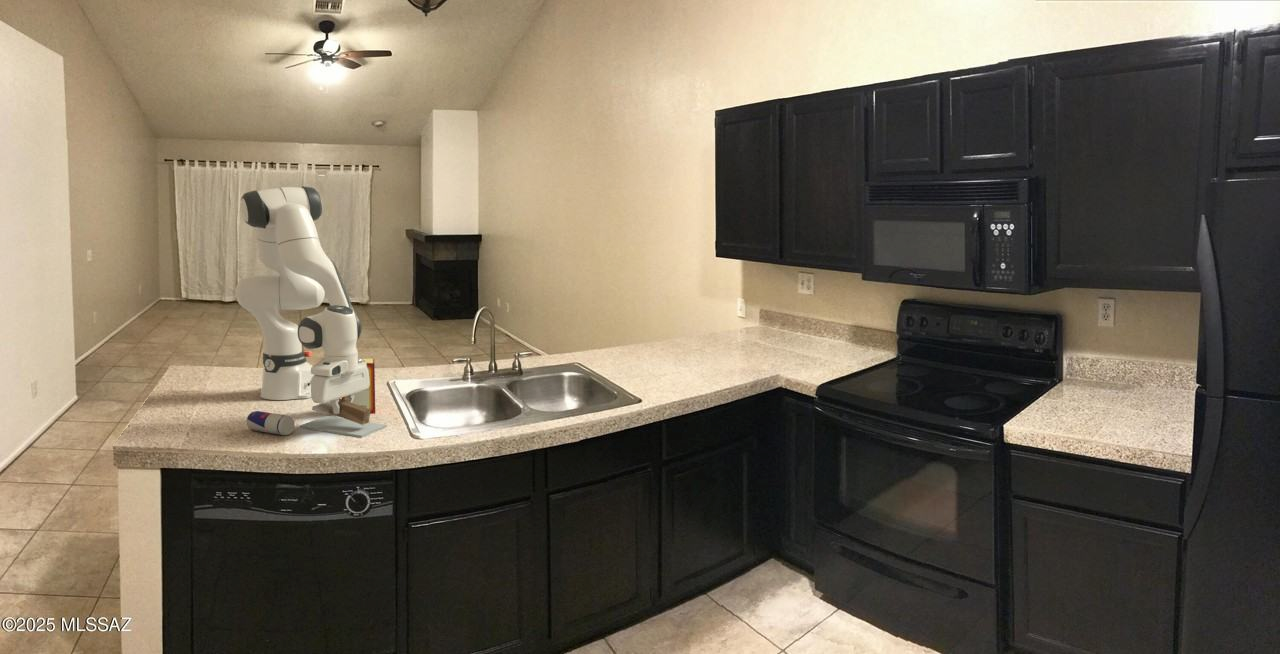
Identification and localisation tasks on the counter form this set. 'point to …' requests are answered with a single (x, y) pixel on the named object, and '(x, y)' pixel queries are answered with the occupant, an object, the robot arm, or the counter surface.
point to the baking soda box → (367, 396)
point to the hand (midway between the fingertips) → (342, 411)
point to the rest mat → (342, 426)
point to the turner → (346, 411)
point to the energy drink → (270, 422)
